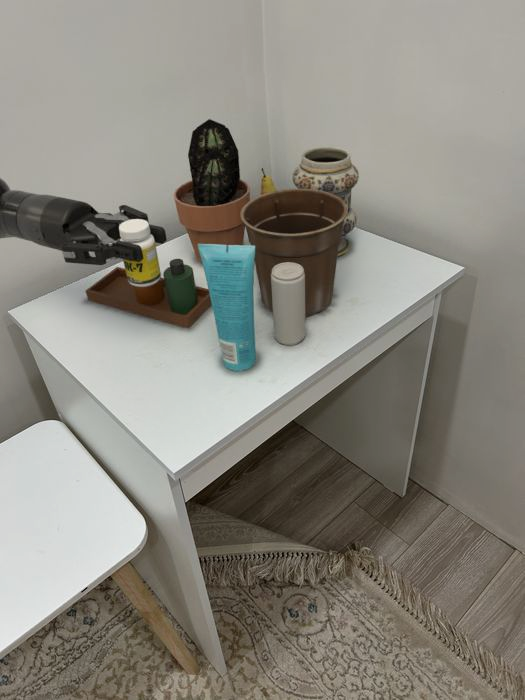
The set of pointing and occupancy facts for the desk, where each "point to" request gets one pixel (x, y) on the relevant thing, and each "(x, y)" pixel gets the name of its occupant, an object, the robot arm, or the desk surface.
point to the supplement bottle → (149, 266)
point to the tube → (232, 300)
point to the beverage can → (288, 302)
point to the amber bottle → (150, 293)
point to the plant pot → (296, 240)
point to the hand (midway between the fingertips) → (152, 244)
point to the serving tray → (123, 297)
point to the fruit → (267, 184)
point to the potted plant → (213, 189)
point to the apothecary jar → (330, 180)
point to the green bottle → (180, 287)
